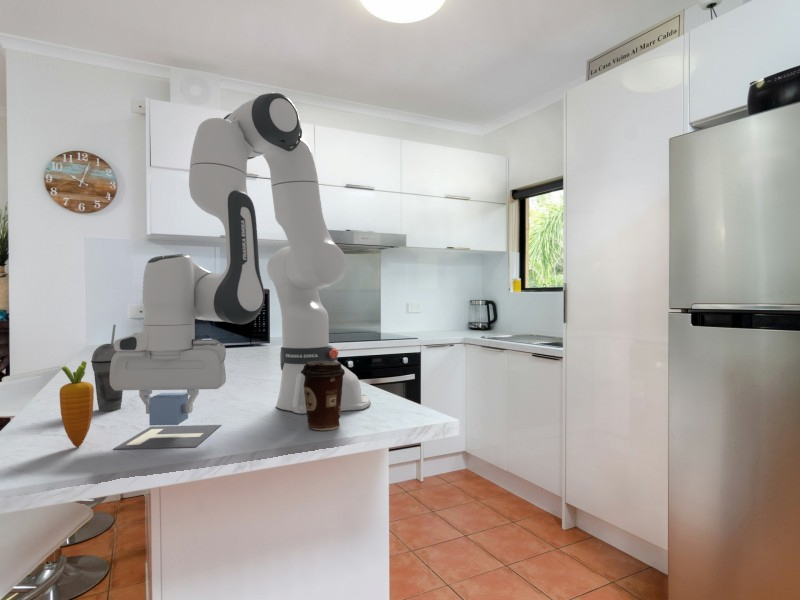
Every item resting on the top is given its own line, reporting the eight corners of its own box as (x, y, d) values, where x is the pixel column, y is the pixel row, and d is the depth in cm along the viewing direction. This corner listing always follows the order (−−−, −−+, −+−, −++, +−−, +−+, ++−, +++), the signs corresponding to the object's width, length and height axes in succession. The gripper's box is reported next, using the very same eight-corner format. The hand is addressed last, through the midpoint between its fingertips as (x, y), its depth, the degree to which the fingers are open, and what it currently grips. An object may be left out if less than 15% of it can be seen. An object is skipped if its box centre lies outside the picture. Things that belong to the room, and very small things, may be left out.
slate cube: (188, 418, 91) (188, 392, 91) (177, 425, 86) (177, 397, 86) (161, 418, 91) (161, 392, 91) (149, 425, 86) (149, 398, 86)
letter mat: (221, 425, 96) (221, 424, 96) (196, 447, 82) (196, 446, 82) (150, 427, 95) (150, 426, 95) (113, 449, 81) (113, 448, 81)
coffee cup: (303, 434, 89) (302, 366, 89) (299, 423, 97) (298, 360, 97) (348, 430, 92) (347, 364, 92) (341, 419, 100) (340, 358, 100)
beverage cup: (94, 407, 113) (93, 324, 113) (129, 404, 116) (128, 323, 116) (88, 414, 106) (87, 326, 106) (126, 410, 109) (124, 324, 109)
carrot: (61, 453, 80) (59, 364, 80) (60, 446, 83) (58, 362, 83) (96, 447, 83) (94, 362, 83) (93, 441, 87) (91, 359, 86)
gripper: (230, 338, 92) (230, 408, 92) (123, 338, 91) (123, 409, 91) (220, 340, 86) (220, 416, 86) (104, 341, 85) (104, 418, 85)
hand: (169, 413), depth 89 cm, fingers closed on slate cube, 5 cm apart
